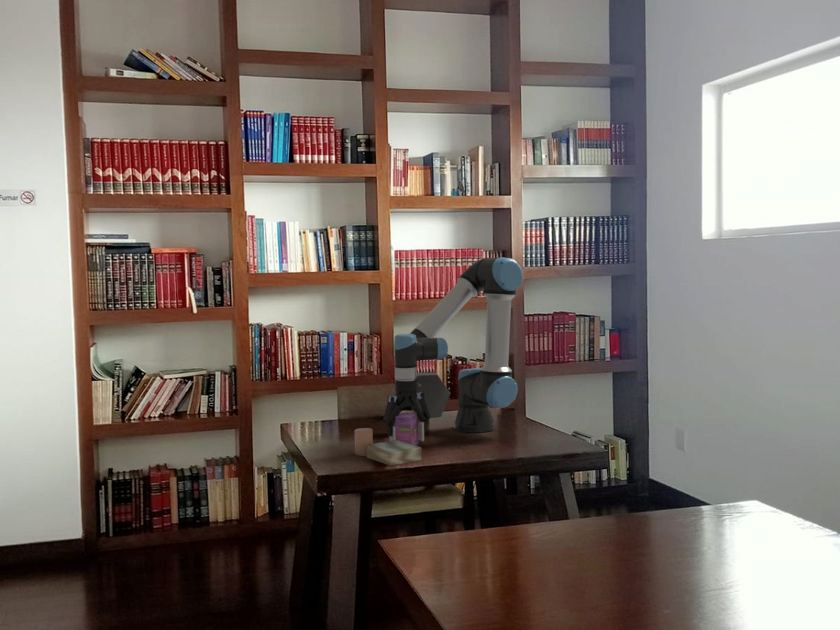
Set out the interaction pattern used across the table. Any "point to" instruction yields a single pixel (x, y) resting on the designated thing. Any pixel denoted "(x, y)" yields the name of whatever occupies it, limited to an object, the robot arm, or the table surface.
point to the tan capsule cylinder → (363, 440)
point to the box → (407, 427)
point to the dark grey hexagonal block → (432, 393)
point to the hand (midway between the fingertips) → (407, 442)
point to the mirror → (393, 452)
